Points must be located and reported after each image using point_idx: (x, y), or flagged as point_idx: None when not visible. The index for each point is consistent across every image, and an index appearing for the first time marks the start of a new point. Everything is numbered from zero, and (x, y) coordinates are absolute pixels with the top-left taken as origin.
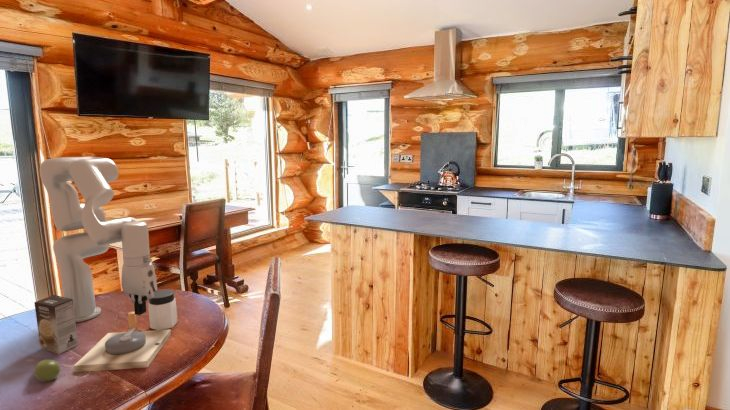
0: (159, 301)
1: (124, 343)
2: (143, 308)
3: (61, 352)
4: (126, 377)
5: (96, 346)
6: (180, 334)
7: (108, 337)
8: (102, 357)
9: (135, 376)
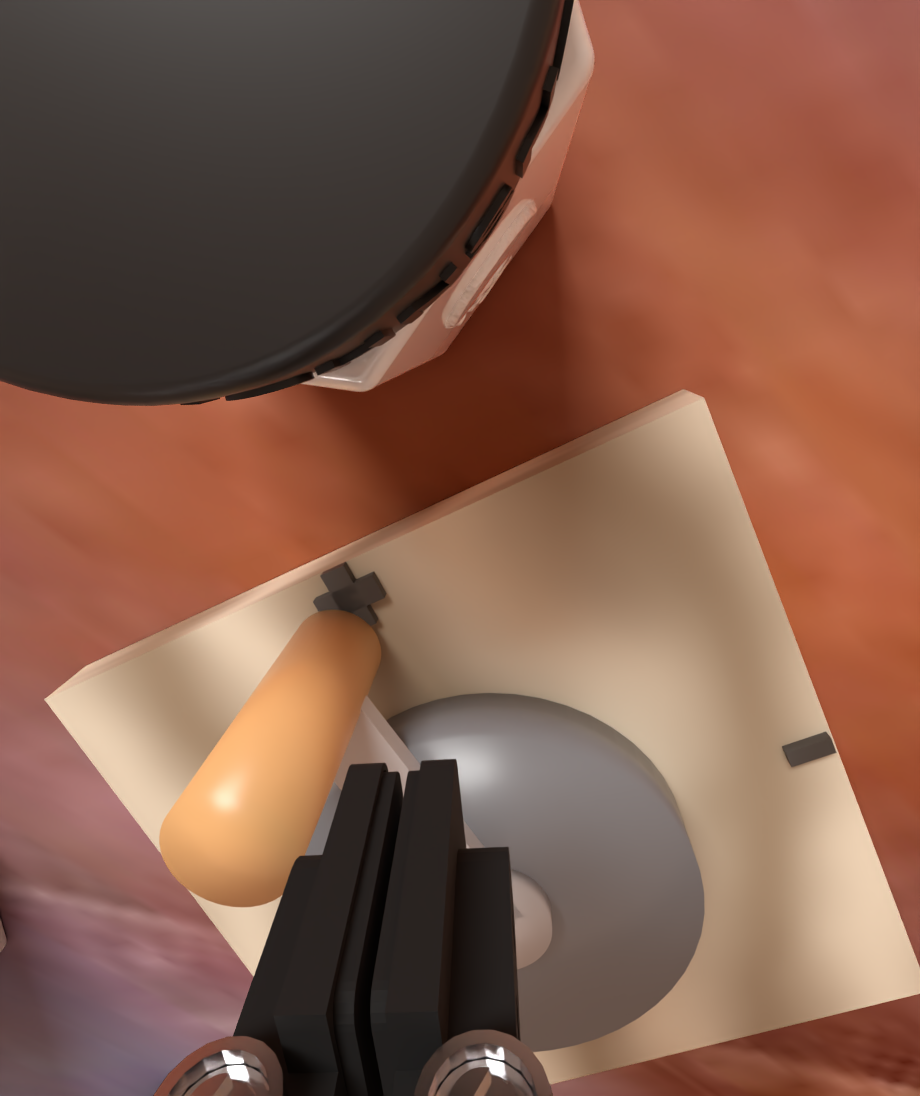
0: (393, 319)
1: (561, 968)
2: (516, 962)
3: (3, 935)
4: (818, 1051)
5: (230, 912)
6: (802, 333)
7: (153, 768)
8: None
9: (881, 1032)
